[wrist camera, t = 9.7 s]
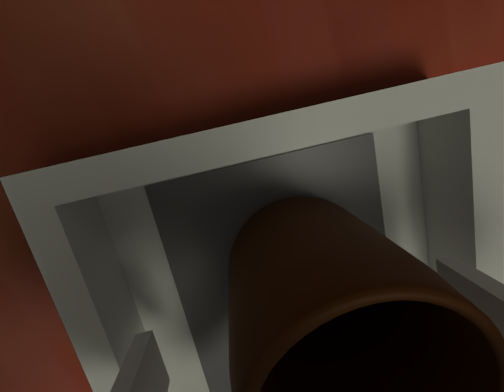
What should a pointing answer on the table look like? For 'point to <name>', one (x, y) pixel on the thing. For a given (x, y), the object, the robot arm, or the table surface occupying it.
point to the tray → (248, 203)
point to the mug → (347, 311)
